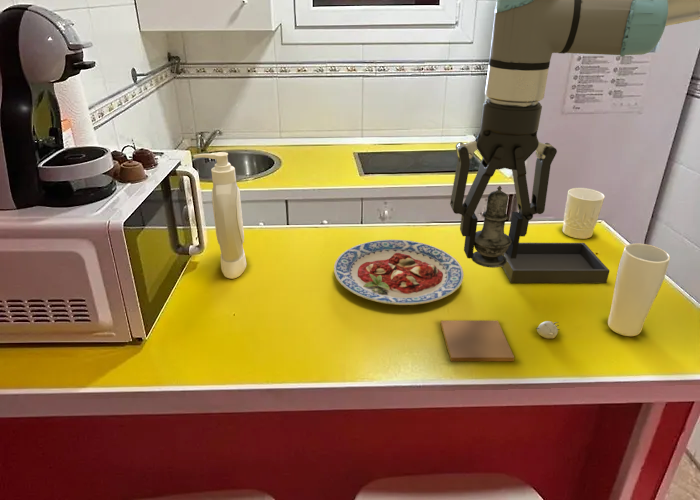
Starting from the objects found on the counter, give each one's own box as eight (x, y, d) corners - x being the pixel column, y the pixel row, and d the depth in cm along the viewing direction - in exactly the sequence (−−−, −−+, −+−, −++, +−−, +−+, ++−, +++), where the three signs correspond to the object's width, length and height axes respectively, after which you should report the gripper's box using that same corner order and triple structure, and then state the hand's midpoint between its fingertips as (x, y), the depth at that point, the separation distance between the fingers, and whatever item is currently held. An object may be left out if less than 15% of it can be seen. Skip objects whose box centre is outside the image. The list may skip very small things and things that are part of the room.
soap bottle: (212, 253, 113) (197, 144, 102) (248, 252, 114) (237, 143, 103) (205, 284, 102) (188, 165, 91) (245, 282, 103) (233, 163, 91)
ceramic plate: (405, 238, 121) (406, 226, 119) (490, 286, 102) (492, 273, 101) (310, 268, 108) (309, 255, 106) (386, 330, 89) (387, 316, 88)
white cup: (555, 225, 128) (563, 187, 123) (587, 226, 128) (597, 188, 123) (565, 239, 121) (574, 199, 116) (600, 240, 121) (610, 200, 116)
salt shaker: (513, 268, 77) (526, 193, 72) (473, 268, 77) (484, 193, 72) (502, 250, 83) (514, 178, 77) (465, 250, 82) (474, 178, 77)
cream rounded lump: (562, 338, 87) (565, 325, 86) (539, 340, 87) (542, 327, 86) (552, 327, 90) (555, 315, 89) (531, 329, 90) (533, 316, 89)
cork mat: (497, 324, 91) (497, 320, 91) (513, 361, 82) (514, 357, 82) (440, 324, 91) (440, 320, 90) (450, 361, 82) (451, 357, 82)
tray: (581, 254, 114) (584, 242, 113) (606, 283, 104) (609, 270, 102) (494, 254, 114) (496, 242, 113) (510, 283, 103) (513, 270, 102)
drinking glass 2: (608, 338, 88) (632, 260, 81) (597, 315, 93) (618, 241, 87) (651, 342, 87) (678, 264, 80) (637, 319, 93) (661, 244, 86)
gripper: (572, 95, 72) (542, 243, 83) (437, 93, 72) (424, 242, 83) (596, 106, 65) (559, 266, 76) (446, 105, 65) (431, 265, 76)
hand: (489, 253), depth 79 cm, fingers closed on salt shaker, 6 cm apart
